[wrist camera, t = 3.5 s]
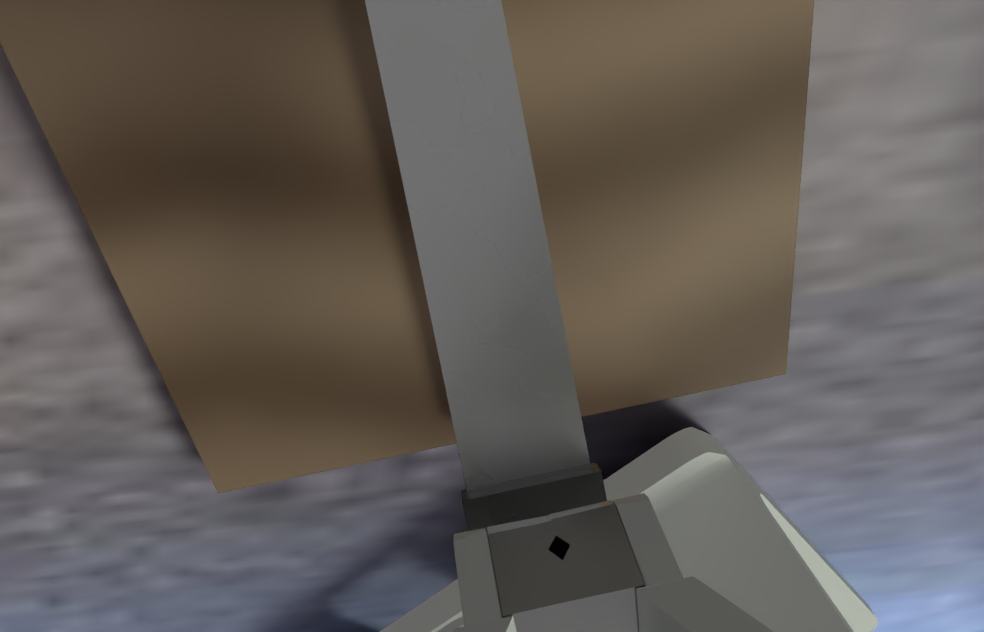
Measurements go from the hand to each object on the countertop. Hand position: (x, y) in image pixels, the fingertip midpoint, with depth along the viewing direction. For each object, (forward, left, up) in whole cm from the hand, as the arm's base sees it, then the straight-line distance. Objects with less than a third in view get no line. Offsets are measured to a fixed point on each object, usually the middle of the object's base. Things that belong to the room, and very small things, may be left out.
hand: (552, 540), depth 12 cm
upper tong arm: (-2, 0, -6) cm, 7 cm away
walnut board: (-2, 0, -12) cm, 12 cm away
